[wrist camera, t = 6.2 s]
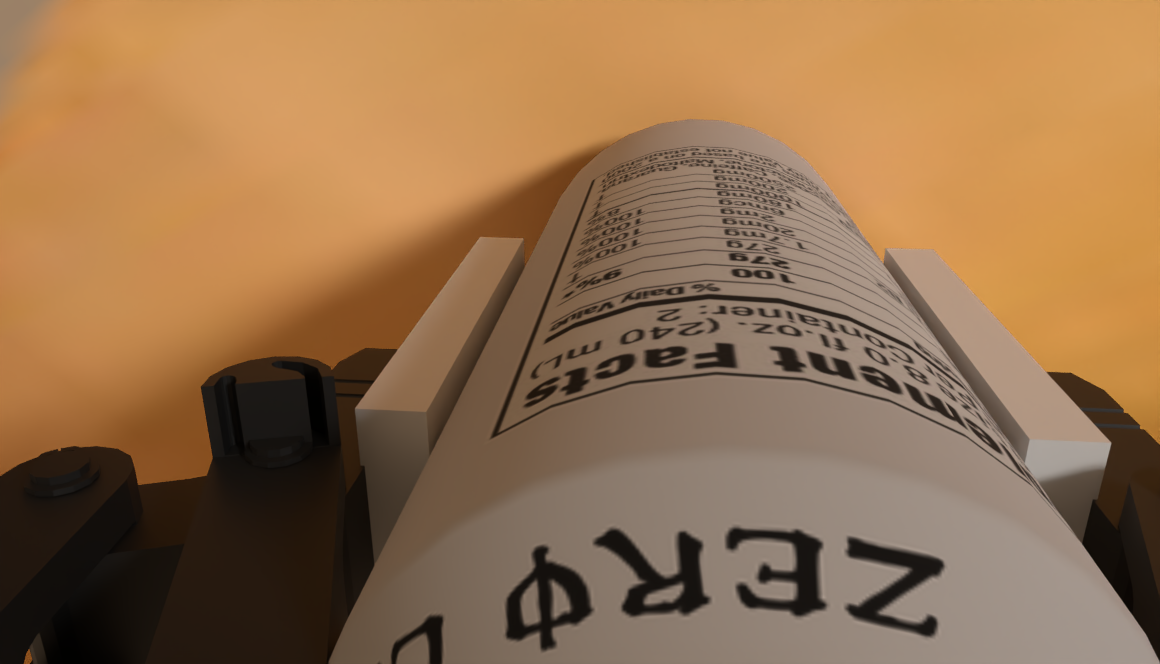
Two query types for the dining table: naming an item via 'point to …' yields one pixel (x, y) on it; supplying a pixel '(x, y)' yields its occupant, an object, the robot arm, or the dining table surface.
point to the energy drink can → (724, 453)
